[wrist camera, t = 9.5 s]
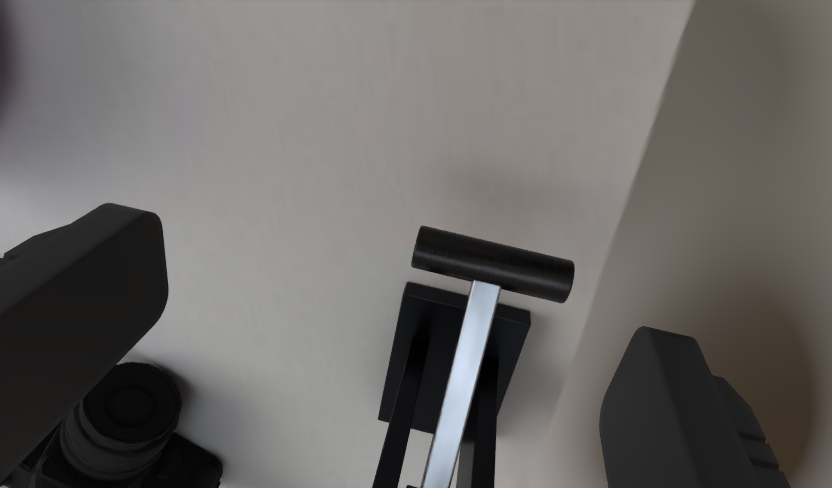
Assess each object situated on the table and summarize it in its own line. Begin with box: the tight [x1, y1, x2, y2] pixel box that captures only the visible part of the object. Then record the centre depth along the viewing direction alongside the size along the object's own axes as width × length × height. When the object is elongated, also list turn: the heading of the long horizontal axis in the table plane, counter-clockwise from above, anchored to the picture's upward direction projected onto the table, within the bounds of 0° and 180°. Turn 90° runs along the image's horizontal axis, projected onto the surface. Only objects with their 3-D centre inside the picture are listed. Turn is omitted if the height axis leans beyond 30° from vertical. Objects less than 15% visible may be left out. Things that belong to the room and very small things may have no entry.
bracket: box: [372, 282, 531, 488], centre depth 26 cm, size 10×7×13 cm
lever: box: [406, 226, 575, 488], centre depth 21 cm, size 14×6×2 cm, turn 170°
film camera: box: [0, 362, 223, 488], centre depth 35 cm, size 15×10×9 cm, turn 55°
